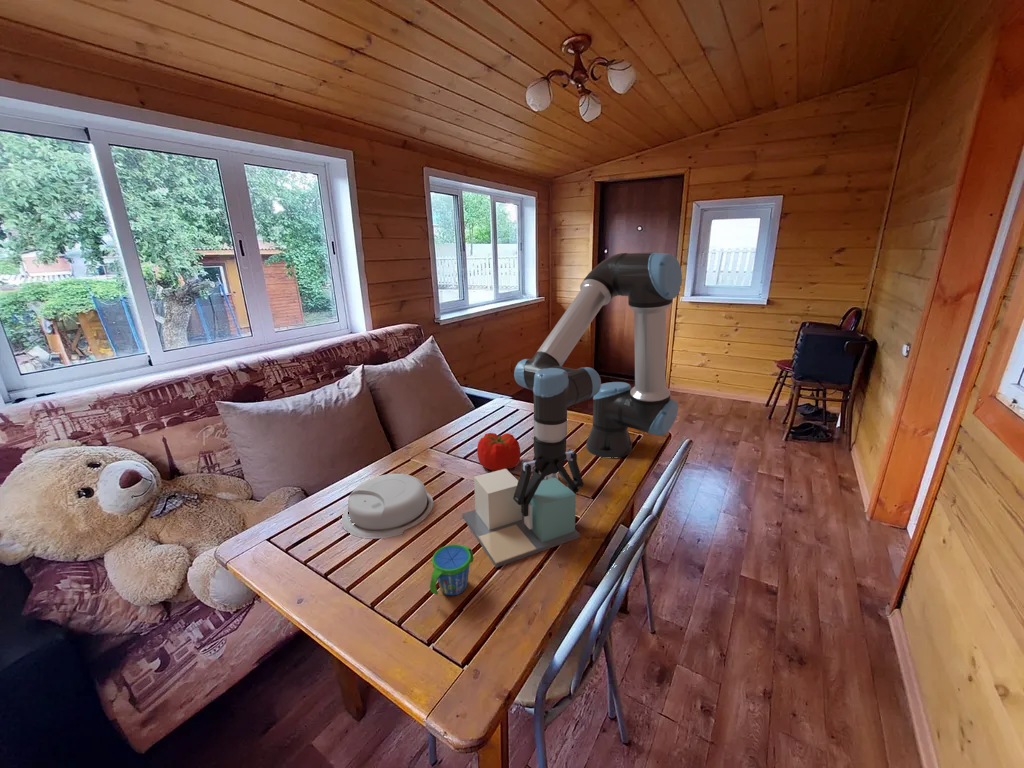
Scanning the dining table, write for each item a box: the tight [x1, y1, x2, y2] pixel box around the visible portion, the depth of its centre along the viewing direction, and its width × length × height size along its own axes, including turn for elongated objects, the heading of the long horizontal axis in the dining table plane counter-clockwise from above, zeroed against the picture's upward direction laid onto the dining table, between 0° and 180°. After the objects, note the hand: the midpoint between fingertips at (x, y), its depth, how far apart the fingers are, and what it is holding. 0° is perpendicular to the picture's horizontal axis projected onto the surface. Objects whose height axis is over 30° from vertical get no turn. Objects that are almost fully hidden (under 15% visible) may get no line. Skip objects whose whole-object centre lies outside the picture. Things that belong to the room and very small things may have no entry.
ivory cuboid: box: [473, 469, 522, 530], centre depth 108 cm, size 9×9×10 cm
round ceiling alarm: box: [341, 473, 434, 540], centre depth 114 cm, size 25×25×6 cm
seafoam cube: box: [530, 478, 577, 542], centre depth 103 cm, size 9×9×10 cm
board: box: [461, 509, 581, 569], centre depth 106 cm, size 22×21×1 cm
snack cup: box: [429, 544, 474, 596], centre depth 86 cm, size 11×8×7 cm
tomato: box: [476, 432, 522, 472], centre depth 134 cm, size 14×13×10 cm
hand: (548, 519), depth 104 cm, fingers open, 11 cm apart
